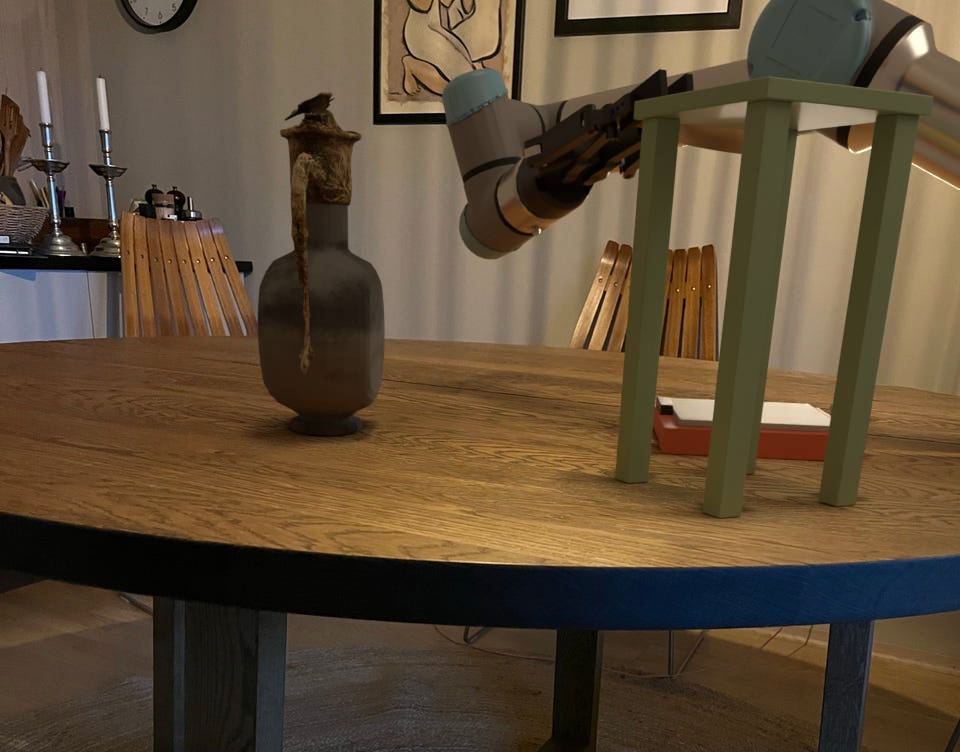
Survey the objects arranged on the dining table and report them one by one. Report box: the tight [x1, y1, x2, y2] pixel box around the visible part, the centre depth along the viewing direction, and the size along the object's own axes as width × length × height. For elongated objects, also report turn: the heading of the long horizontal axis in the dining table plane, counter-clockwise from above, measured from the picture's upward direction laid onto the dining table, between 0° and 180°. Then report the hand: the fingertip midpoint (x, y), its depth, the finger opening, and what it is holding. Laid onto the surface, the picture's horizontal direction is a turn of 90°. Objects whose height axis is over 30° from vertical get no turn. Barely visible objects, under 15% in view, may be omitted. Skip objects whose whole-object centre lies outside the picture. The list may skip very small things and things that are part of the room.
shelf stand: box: [614, 76, 934, 519], centre depth 77 cm, size 15×14×28 cm
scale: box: [653, 396, 831, 462], centre depth 104 cm, size 18×18×3 cm
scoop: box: [613, 97, 744, 155], centre depth 92 cm, size 20×7×4 cm, turn 26°
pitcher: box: [257, 91, 386, 437], centre depth 96 cm, size 11×19×30 cm, turn 178°
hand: (677, 87), depth 92 cm, fingers closed on scoop, 2 cm apart
